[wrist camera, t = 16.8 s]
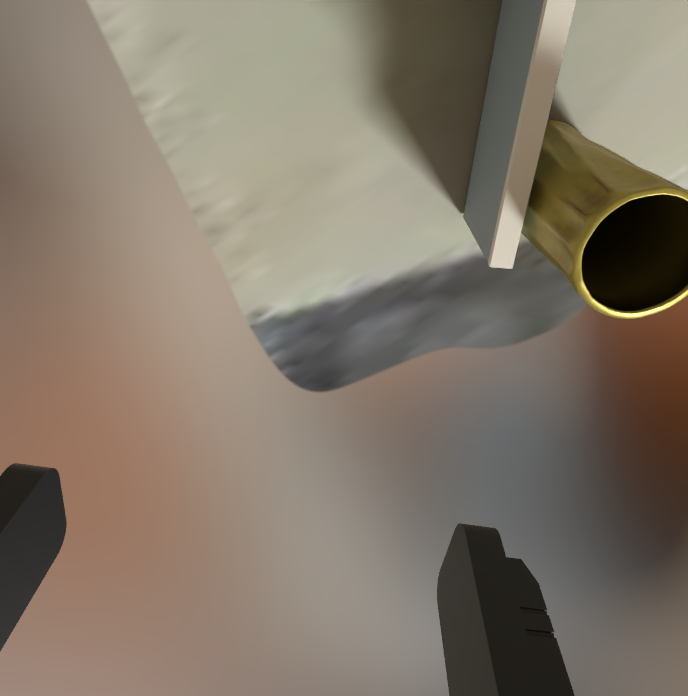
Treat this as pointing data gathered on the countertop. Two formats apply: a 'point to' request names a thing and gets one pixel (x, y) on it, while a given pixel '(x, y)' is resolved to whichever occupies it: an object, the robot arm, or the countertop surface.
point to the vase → (608, 225)
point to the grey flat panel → (514, 121)
